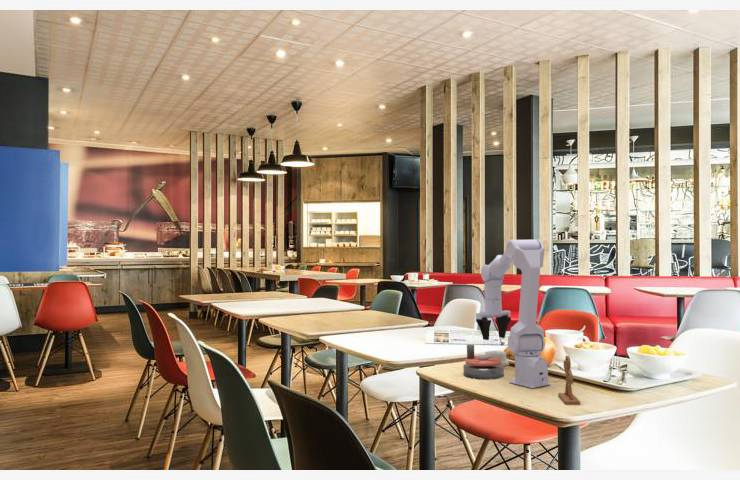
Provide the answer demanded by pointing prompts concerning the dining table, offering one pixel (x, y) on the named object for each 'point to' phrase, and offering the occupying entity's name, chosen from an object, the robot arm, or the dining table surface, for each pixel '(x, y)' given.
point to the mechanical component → (498, 356)
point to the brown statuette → (568, 396)
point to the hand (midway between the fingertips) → (494, 338)
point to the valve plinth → (483, 371)
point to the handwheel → (480, 358)
